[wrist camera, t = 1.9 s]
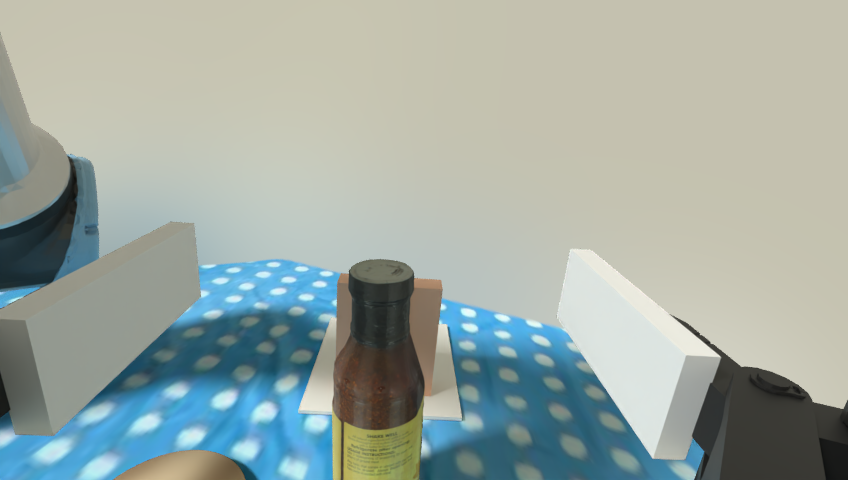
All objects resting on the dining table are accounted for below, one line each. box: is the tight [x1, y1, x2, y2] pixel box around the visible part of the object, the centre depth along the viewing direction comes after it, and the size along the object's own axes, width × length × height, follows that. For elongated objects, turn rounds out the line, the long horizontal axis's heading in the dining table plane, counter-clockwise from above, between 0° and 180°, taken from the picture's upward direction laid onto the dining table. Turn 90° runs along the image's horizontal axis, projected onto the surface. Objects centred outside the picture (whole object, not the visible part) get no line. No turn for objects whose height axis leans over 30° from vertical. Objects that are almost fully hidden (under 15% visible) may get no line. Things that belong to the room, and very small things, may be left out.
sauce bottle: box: [332, 259, 425, 480], centre depth 29 cm, size 6×6×20 cm
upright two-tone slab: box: [336, 273, 442, 396], centre depth 43 cm, size 2×10×12 cm, turn 92°
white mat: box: [298, 318, 462, 421], centre depth 50 cm, size 18×16×1 cm
